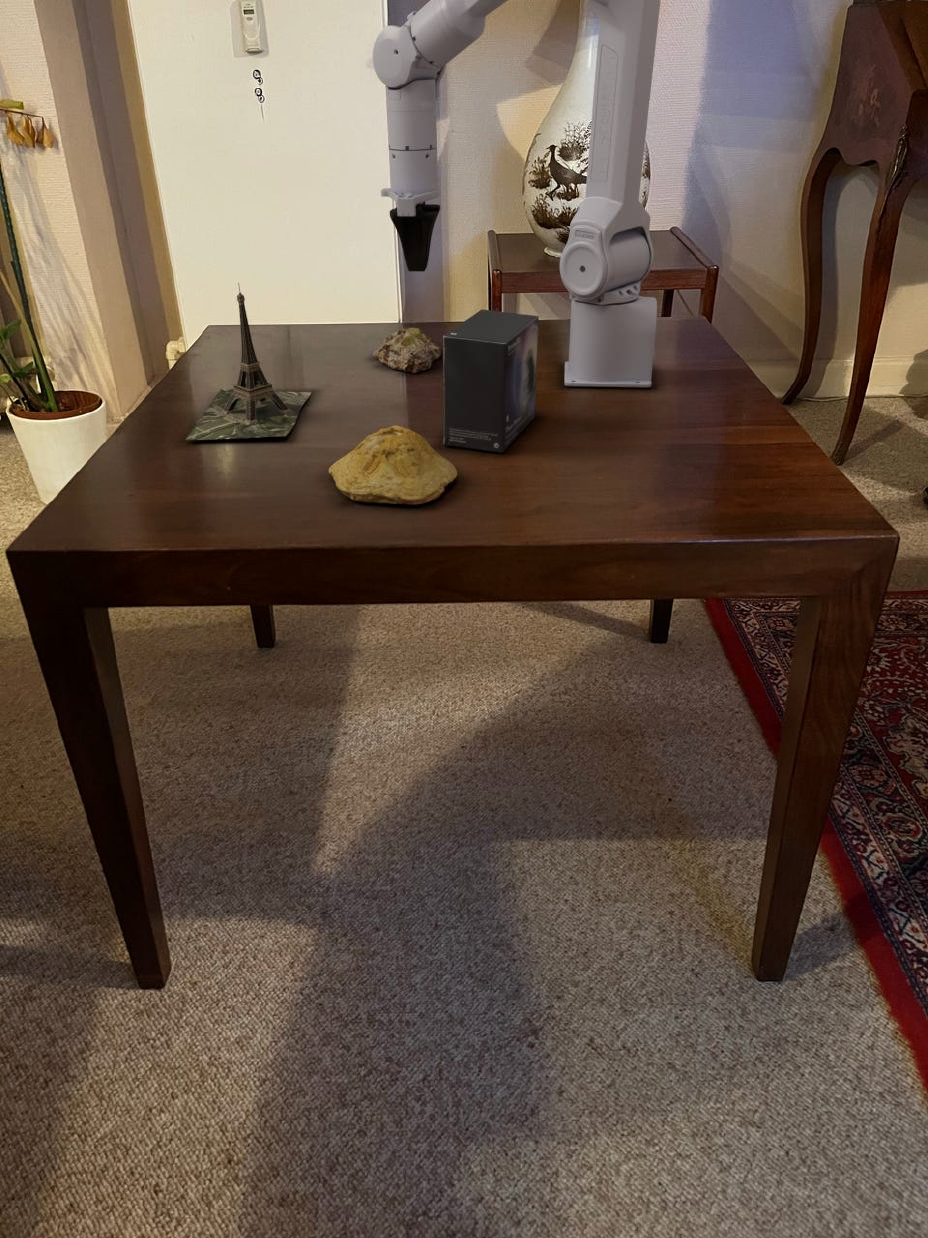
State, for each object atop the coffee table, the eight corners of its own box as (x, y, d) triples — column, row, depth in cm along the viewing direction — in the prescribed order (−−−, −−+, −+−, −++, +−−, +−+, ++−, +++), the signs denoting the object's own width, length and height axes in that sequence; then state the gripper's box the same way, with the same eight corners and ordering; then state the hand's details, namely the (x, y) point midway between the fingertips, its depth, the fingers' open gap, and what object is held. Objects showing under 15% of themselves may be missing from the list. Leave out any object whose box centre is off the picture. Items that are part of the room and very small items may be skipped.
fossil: (311, 429, 75) (363, 393, 83) (302, 493, 78) (352, 452, 87) (436, 477, 73) (476, 435, 82) (421, 540, 77) (461, 494, 85)
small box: (506, 455, 86) (508, 342, 81) (441, 447, 88) (438, 335, 82) (538, 417, 95) (542, 312, 89) (478, 411, 96) (478, 307, 91)
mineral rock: (365, 331, 114) (427, 310, 114) (377, 364, 117) (437, 343, 117) (373, 359, 106) (440, 336, 105) (385, 394, 108) (451, 372, 108)
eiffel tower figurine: (220, 393, 102) (200, 266, 95) (311, 392, 102) (298, 265, 95) (185, 444, 90) (159, 301, 83) (290, 442, 90) (273, 300, 83)
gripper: (389, 142, 115) (395, 257, 123) (367, 155, 103) (375, 282, 110) (445, 141, 115) (448, 257, 122) (430, 154, 103) (434, 282, 110)
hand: (417, 269), depth 116 cm, fingers closed
